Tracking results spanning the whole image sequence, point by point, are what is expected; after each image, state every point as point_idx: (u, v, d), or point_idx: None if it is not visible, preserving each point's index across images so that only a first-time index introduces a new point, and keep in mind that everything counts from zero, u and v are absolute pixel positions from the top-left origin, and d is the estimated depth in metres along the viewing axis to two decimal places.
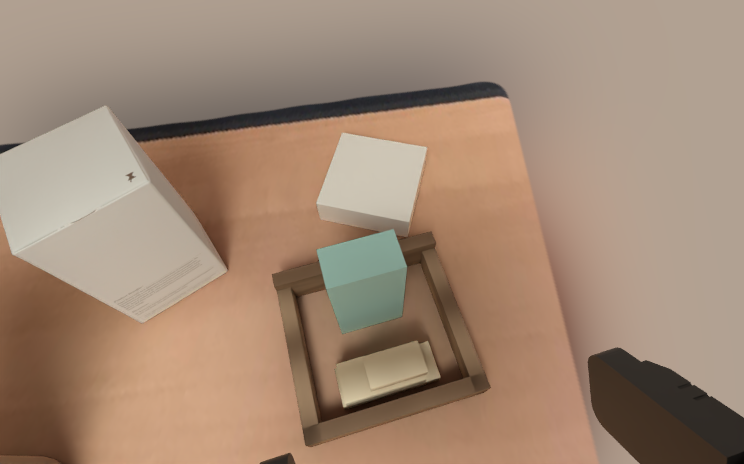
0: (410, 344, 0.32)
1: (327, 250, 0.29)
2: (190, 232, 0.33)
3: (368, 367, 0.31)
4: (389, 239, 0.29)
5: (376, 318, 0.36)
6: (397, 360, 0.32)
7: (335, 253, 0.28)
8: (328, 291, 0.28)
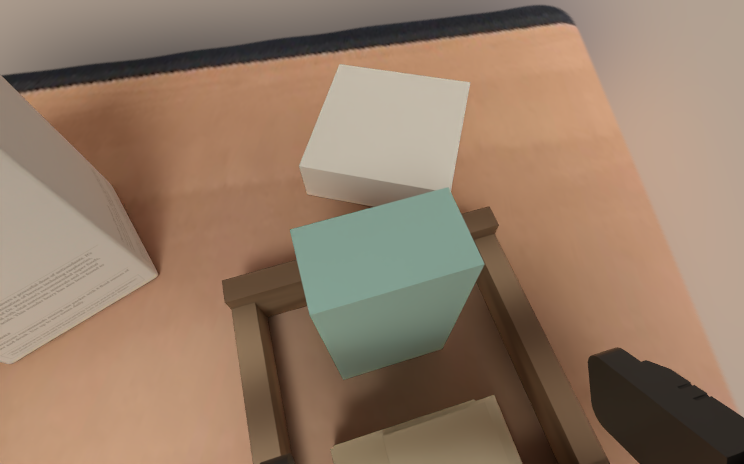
0: (471, 410, 0.17)
1: (312, 231, 0.14)
2: (62, 205, 0.18)
3: (395, 458, 0.16)
4: (441, 206, 0.14)
5: (402, 354, 0.21)
6: (450, 442, 0.17)
7: (329, 237, 0.13)
8: (315, 319, 0.13)
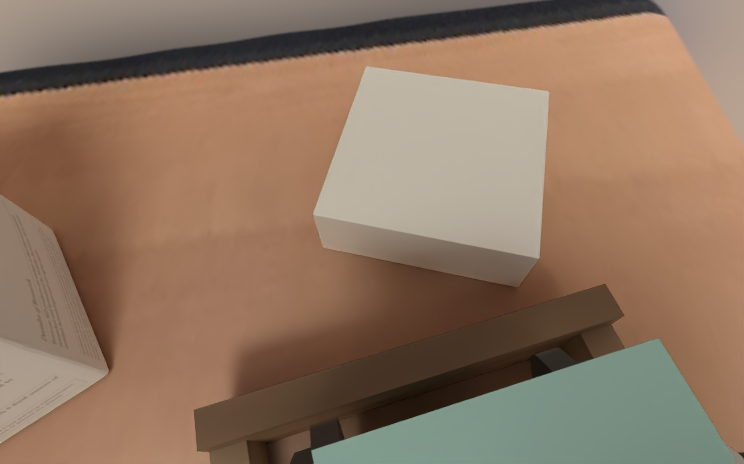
0: None
1: (363, 457, 0.06)
2: None
3: None
4: (655, 392, 0.06)
5: None
6: None
7: None
8: None
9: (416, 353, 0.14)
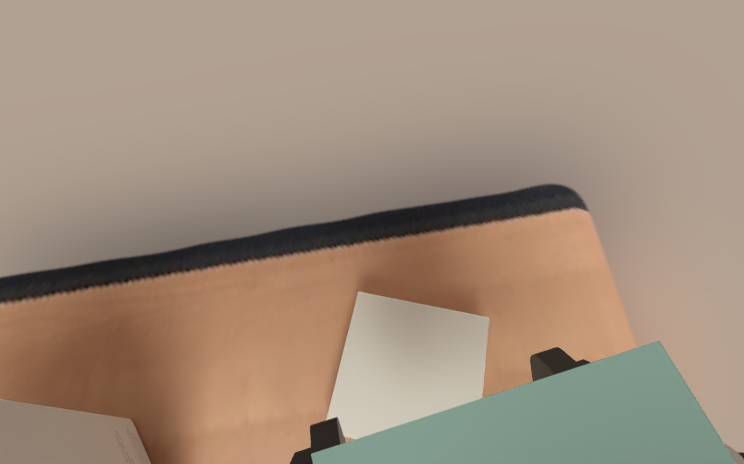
0: None
1: (363, 461, 0.06)
2: None
3: None
4: (656, 395, 0.06)
5: None
6: None
7: None
8: None
9: None
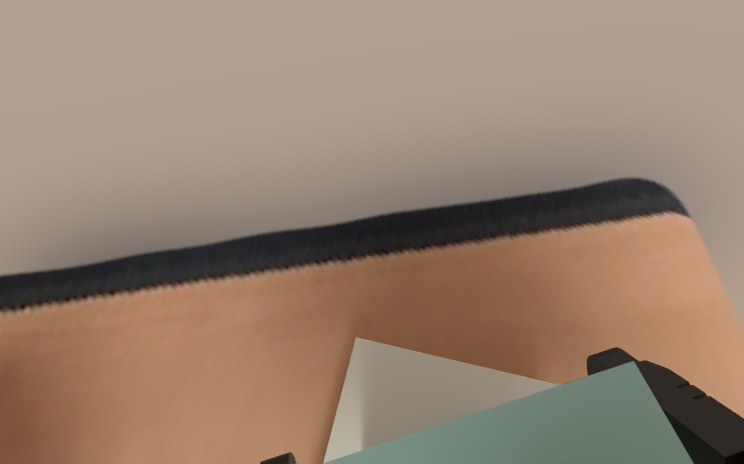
0: None
1: None
2: None
3: None
4: (629, 410, 0.07)
5: None
6: None
7: None
8: None
9: None
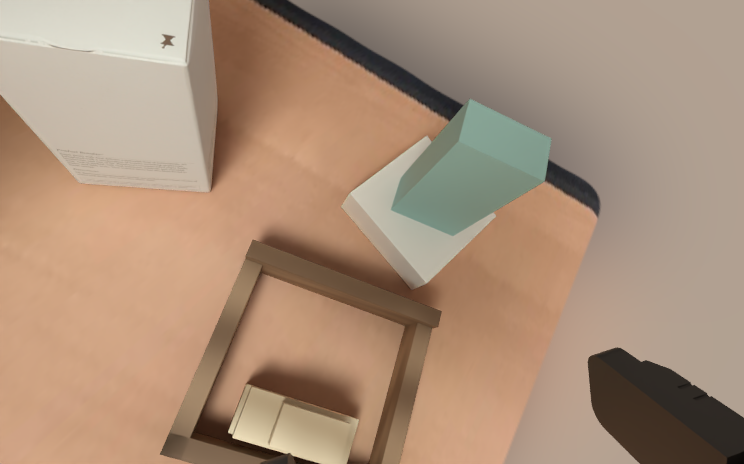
0: (341, 424, 0.26)
1: (479, 107, 0.24)
2: (196, 140, 0.24)
3: (282, 419, 0.25)
4: (542, 144, 0.24)
5: (436, 218, 0.32)
6: (317, 432, 0.25)
7: (485, 116, 0.24)
8: (456, 146, 0.23)
9: (350, 282, 0.29)
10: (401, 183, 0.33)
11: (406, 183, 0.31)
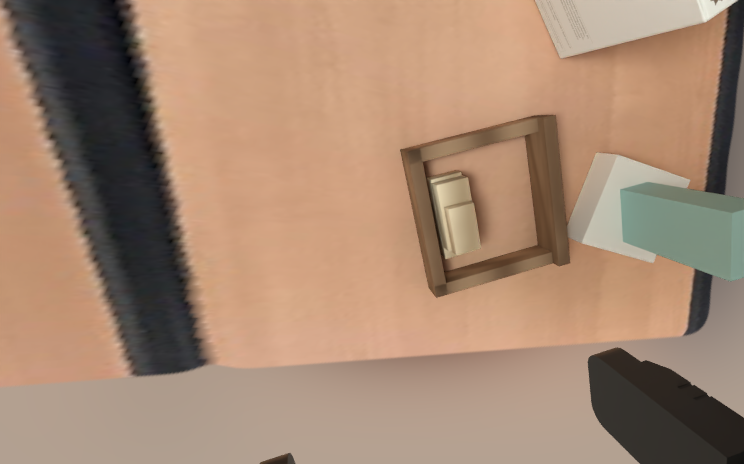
0: (478, 242, 0.38)
1: None
2: (622, 40, 0.32)
3: (465, 207, 0.37)
4: None
5: (635, 224, 0.40)
6: (467, 232, 0.38)
7: None
8: (725, 213, 0.31)
9: (559, 194, 0.39)
10: (645, 185, 0.40)
11: (652, 190, 0.39)
